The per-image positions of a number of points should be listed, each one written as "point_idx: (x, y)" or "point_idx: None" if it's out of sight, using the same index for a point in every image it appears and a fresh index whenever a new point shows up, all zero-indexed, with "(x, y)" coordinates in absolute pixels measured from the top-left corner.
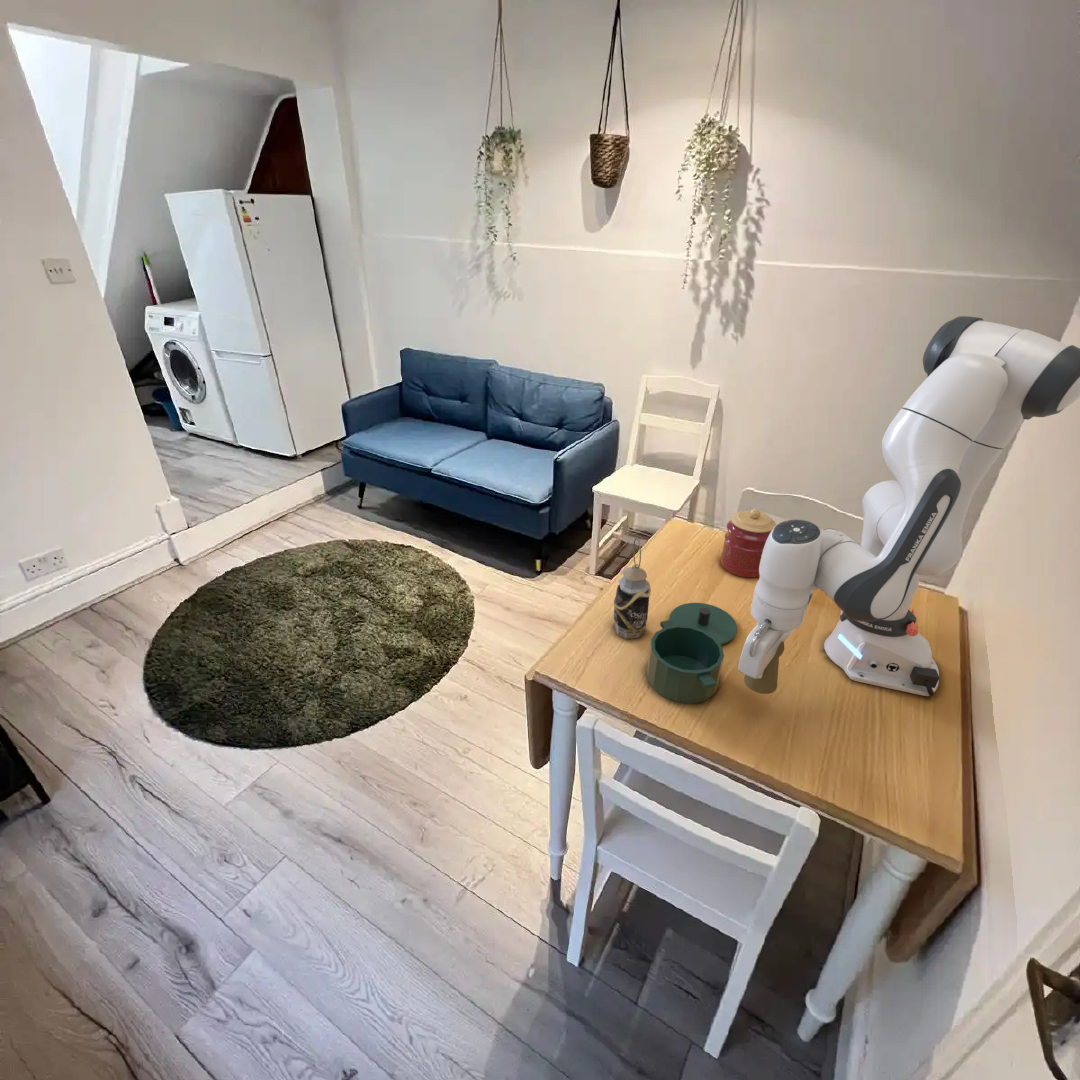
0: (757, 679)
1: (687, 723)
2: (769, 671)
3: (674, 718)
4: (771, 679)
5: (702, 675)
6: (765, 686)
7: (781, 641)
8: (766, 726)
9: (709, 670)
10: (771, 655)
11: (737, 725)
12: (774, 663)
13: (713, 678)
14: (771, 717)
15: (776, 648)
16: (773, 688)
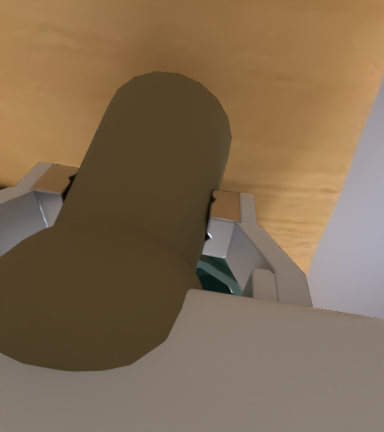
0: (220, 181)
1: (296, 202)
2: (199, 181)
3: (292, 223)
4: (195, 133)
5: (227, 266)
6: (219, 131)
7: (16, 374)
8: (215, 29)
9: (208, 265)
10: (323, 415)
11: (252, 107)
12: (164, 202)
13: None
14: (170, 24)
15: (173, 397)
16: (190, 89)
